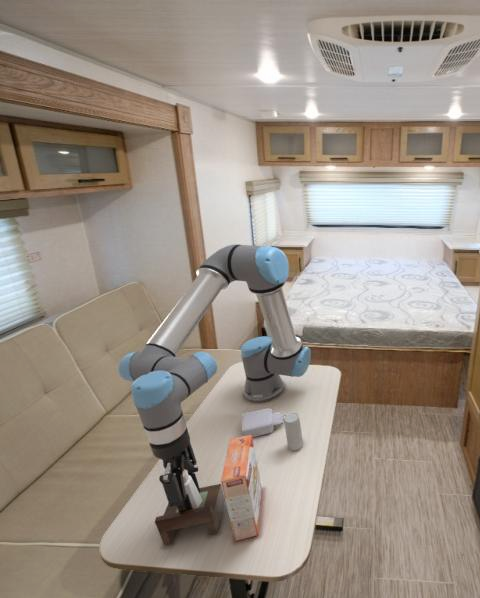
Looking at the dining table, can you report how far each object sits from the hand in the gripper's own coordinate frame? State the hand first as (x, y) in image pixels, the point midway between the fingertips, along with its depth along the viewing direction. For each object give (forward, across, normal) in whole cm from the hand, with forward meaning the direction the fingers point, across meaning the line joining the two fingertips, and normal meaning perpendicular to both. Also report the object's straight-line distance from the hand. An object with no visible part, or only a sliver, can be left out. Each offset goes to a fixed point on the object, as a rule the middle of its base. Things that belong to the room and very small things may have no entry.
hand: (191, 503), depth 88 cm
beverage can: (+7, -20, +25) cm, 33 cm away
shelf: (+7, 0, 0) cm, 7 cm away
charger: (+7, -32, +15) cm, 36 cm away
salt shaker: (+1, 0, 0) cm, 1 cm away
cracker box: (+7, +2, +14) cm, 15 cm away
